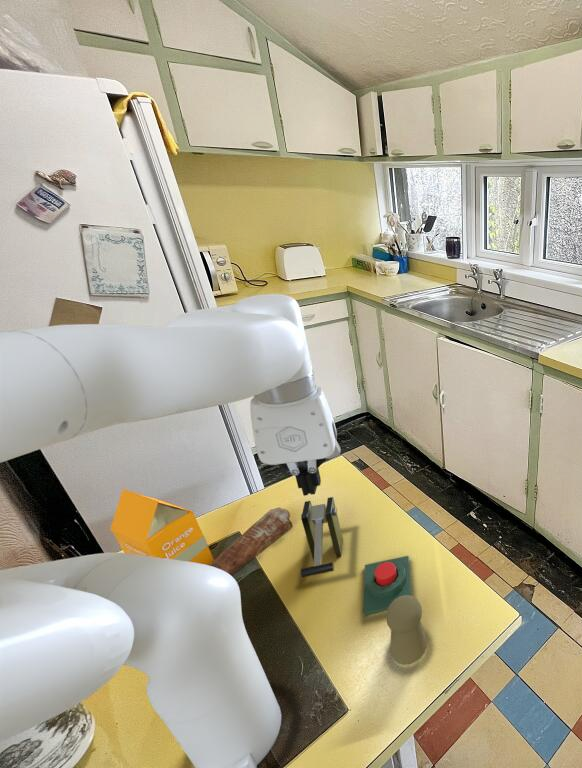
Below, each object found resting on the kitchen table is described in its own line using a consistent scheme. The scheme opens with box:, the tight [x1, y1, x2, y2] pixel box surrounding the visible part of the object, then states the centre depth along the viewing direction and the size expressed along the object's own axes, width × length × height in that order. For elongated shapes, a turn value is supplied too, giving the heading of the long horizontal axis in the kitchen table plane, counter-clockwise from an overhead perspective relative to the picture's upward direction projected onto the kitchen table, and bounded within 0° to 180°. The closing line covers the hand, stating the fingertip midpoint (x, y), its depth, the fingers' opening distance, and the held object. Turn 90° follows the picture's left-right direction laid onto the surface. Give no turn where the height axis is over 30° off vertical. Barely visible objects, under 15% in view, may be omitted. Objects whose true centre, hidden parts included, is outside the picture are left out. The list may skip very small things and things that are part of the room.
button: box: [375, 562, 397, 586], centre depth 73 cm, size 4×4×2 cm
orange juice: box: [109, 488, 215, 565], centre depth 72 cm, size 8×9×20 cm
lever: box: [300, 503, 335, 578], centre depth 74 cm, size 12×5×2 cm, turn 17°
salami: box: [209, 507, 293, 577], centre depth 79 cm, size 6×19×6 cm, turn 156°
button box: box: [362, 555, 413, 617], centre depth 74 cm, size 10×8×4 cm
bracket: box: [300, 496, 344, 563], centre depth 79 cm, size 12×9×13 cm
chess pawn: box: [385, 595, 428, 666], centre depth 63 cm, size 6×6×11 cm
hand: (311, 489), depth 65 cm, fingers closed
